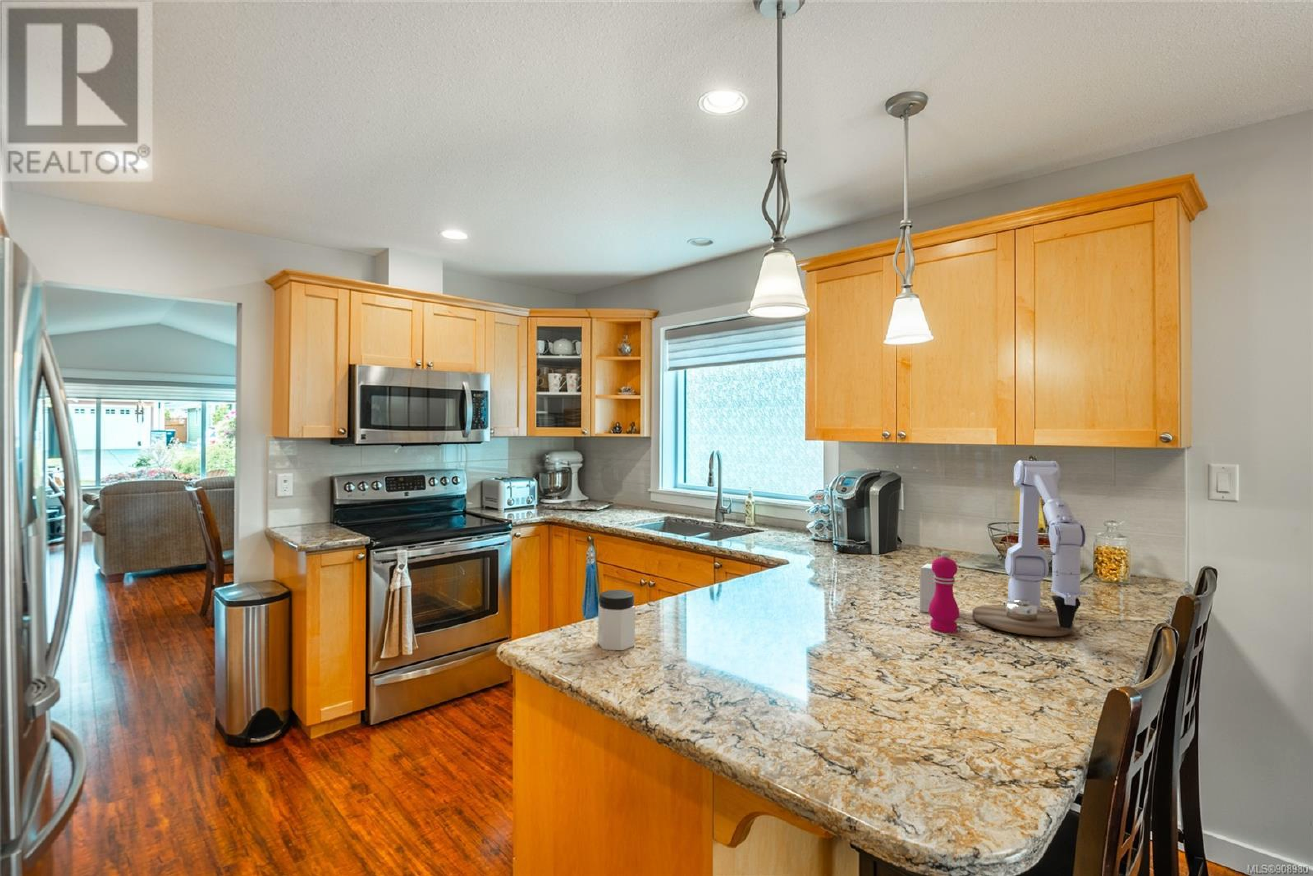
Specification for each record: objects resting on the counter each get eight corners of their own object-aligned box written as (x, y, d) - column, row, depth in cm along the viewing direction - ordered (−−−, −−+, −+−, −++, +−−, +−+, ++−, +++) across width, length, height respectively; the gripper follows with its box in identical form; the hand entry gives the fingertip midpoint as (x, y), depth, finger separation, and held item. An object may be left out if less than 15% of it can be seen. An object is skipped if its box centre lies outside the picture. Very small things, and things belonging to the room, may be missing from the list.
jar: (595, 640, 147) (595, 590, 147) (628, 637, 150) (628, 588, 150) (603, 653, 139) (603, 600, 139) (638, 649, 141) (638, 597, 141)
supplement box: (947, 616, 169) (947, 570, 169) (918, 611, 174) (919, 567, 174) (953, 610, 175) (953, 566, 175) (925, 605, 180) (926, 562, 180)
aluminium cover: (1001, 613, 166) (1001, 596, 166) (1029, 614, 165) (1029, 597, 165) (1012, 620, 159) (1012, 603, 159) (1041, 622, 158) (1042, 604, 158)
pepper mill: (952, 625, 162) (953, 549, 162) (963, 634, 154) (964, 554, 154) (924, 624, 162) (925, 548, 162) (933, 632, 155) (935, 554, 155)
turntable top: (962, 606, 176) (962, 594, 176) (1051, 612, 171) (1051, 599, 171) (988, 632, 153) (988, 618, 153) (1091, 639, 148) (1091, 624, 148)
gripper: (1091, 580, 142) (1090, 638, 142) (1080, 568, 155) (1080, 621, 155) (1055, 576, 145) (1054, 634, 145) (1047, 565, 158) (1047, 617, 158)
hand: (1065, 627), depth 150 cm, fingers closed
